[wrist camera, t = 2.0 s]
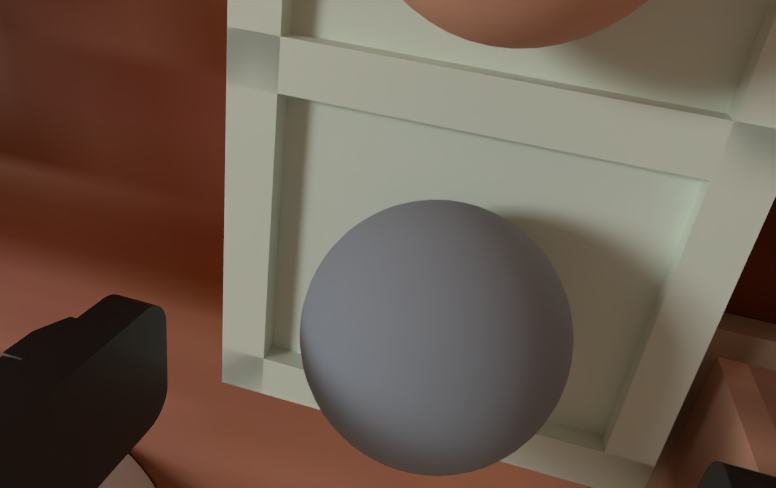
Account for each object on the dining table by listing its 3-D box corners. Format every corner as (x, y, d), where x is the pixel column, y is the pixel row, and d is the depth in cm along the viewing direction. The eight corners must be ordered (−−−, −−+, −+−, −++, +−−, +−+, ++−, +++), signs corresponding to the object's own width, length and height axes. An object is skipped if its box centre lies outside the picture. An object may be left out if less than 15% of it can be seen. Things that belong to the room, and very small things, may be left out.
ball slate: (359, 141, 12) (258, 240, 8) (601, 192, 11) (620, 328, 7) (337, 336, 14) (247, 489, 10) (540, 389, 13) (529, 577, 9)
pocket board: (307, -446, 10) (235, -553, 8) (965, -411, 9) (1099, -530, 6) (266, 325, 17) (221, 381, 15) (629, 421, 15) (638, 500, 13)
